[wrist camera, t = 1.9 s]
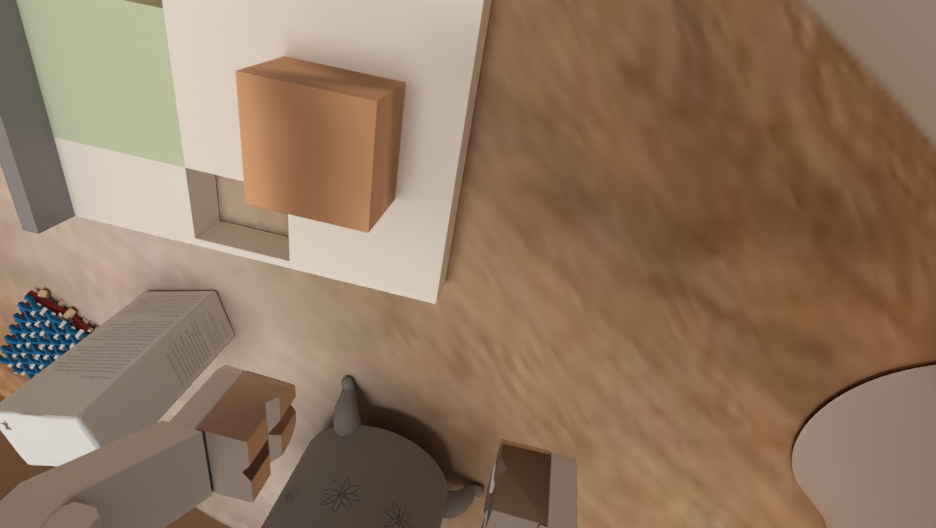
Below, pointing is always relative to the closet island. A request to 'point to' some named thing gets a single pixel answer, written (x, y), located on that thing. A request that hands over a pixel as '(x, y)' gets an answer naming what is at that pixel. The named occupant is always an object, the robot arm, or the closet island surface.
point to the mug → (365, 480)
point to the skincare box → (116, 377)
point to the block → (320, 140)
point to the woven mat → (42, 334)
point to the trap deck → (231, 120)
